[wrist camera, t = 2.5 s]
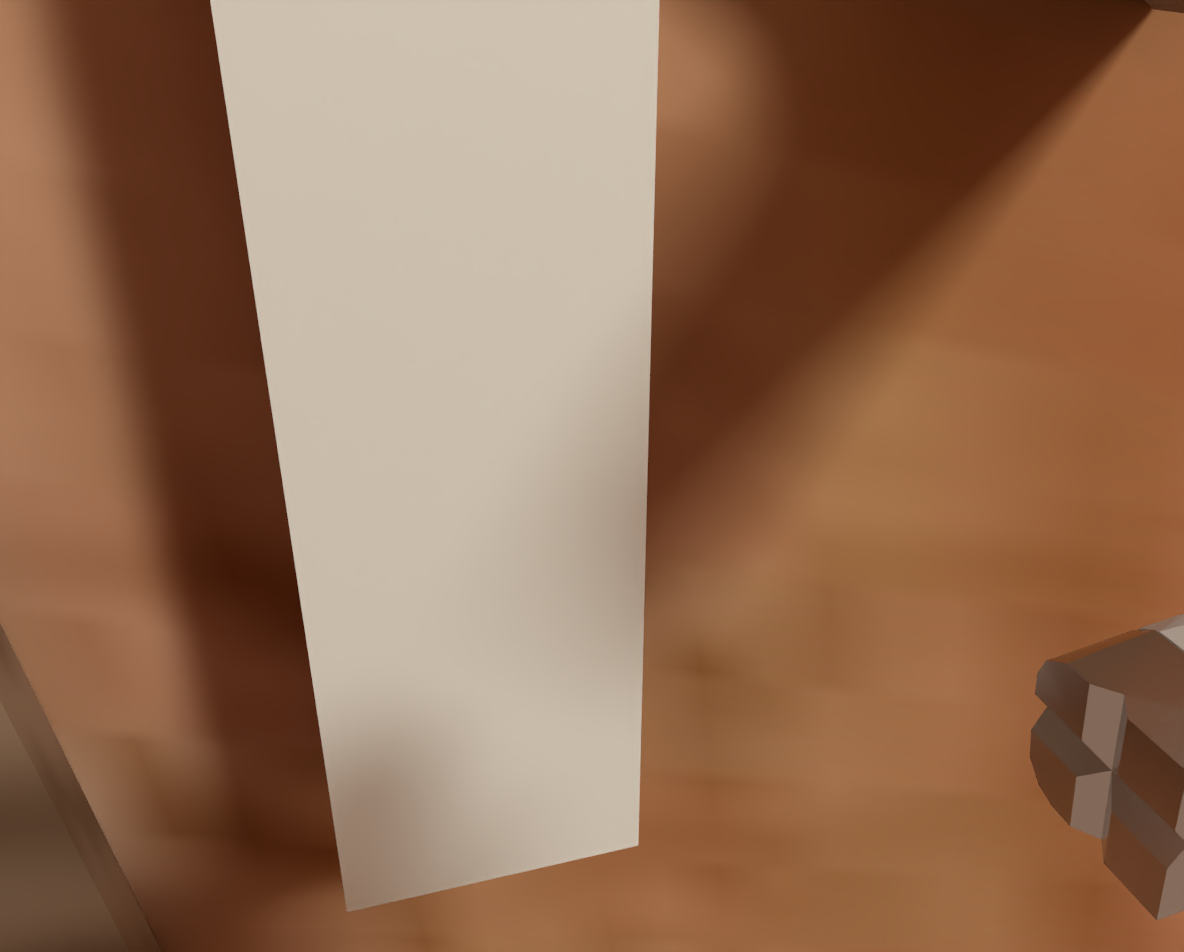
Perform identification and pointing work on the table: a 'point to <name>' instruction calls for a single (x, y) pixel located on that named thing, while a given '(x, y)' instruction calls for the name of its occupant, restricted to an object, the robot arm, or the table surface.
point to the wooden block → (1167, 5)
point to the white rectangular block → (458, 409)
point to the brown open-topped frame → (53, 842)
